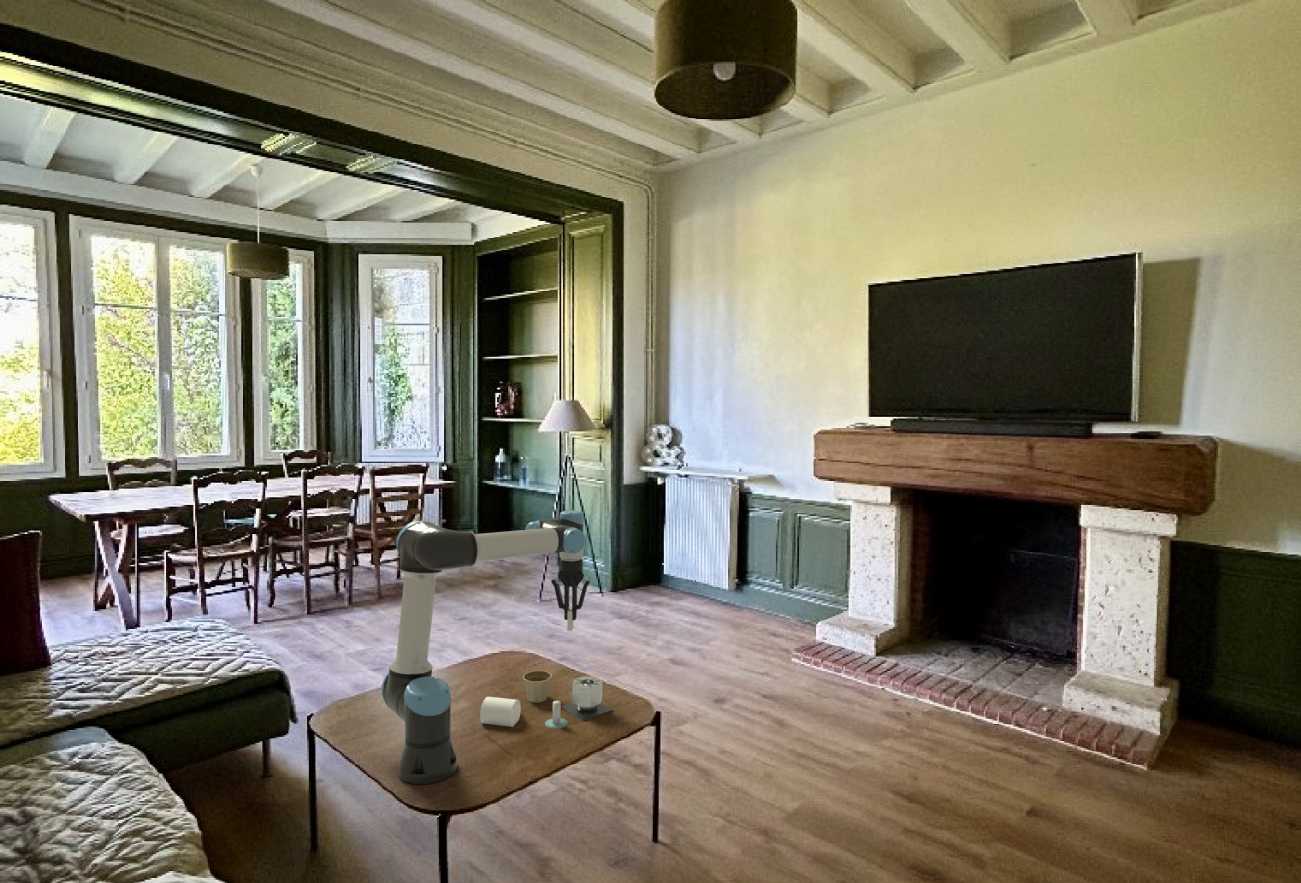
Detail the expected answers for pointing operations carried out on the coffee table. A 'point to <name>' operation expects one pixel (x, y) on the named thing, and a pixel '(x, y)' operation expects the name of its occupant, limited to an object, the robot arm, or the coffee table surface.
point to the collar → (587, 691)
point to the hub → (587, 710)
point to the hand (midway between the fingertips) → (570, 629)
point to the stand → (556, 717)
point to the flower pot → (537, 685)
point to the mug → (500, 711)
